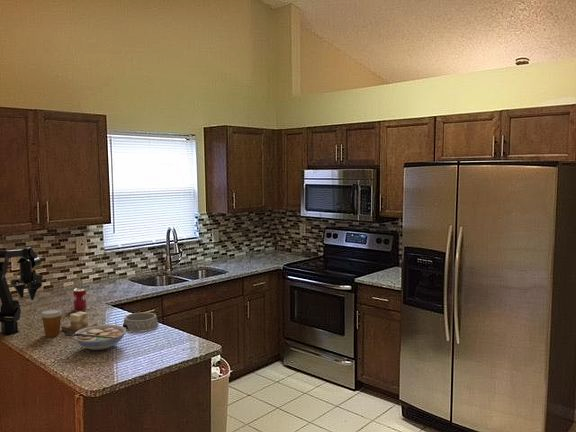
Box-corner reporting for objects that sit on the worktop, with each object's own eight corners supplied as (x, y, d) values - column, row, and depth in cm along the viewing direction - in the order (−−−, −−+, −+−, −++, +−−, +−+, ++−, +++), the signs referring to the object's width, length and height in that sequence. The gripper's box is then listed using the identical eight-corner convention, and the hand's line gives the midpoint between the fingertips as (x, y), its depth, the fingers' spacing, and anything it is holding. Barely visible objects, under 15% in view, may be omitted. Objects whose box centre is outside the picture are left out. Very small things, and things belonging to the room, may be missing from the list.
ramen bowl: (138, 341, 235) (137, 324, 234) (110, 359, 213) (110, 340, 212) (91, 337, 241) (91, 321, 240) (60, 354, 219) (59, 336, 218)
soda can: (72, 312, 284) (71, 291, 283) (74, 308, 291) (73, 288, 290) (86, 311, 286) (85, 290, 285) (87, 307, 293) (86, 288, 292)
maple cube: (78, 327, 250) (77, 316, 249) (70, 325, 253) (70, 314, 252) (88, 324, 255) (87, 313, 254) (80, 322, 258) (80, 311, 257)
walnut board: (77, 334, 246) (77, 330, 246) (61, 330, 252) (61, 326, 252) (97, 327, 256) (97, 323, 256) (82, 323, 262) (81, 320, 262)
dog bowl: (146, 319, 272) (146, 309, 272) (164, 326, 259) (164, 316, 259) (117, 325, 260) (117, 315, 260) (134, 333, 247) (133, 323, 247)
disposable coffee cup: (42, 333, 247) (41, 309, 246) (63, 330, 251) (62, 307, 250) (41, 339, 238) (40, 315, 237) (62, 336, 242) (61, 312, 241)
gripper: (50, 269, 264) (51, 297, 266) (29, 266, 273) (30, 293, 275) (30, 273, 255) (32, 302, 256) (9, 269, 264) (11, 297, 265)
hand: (27, 298), depth 263 cm, fingers open, 9 cm apart
